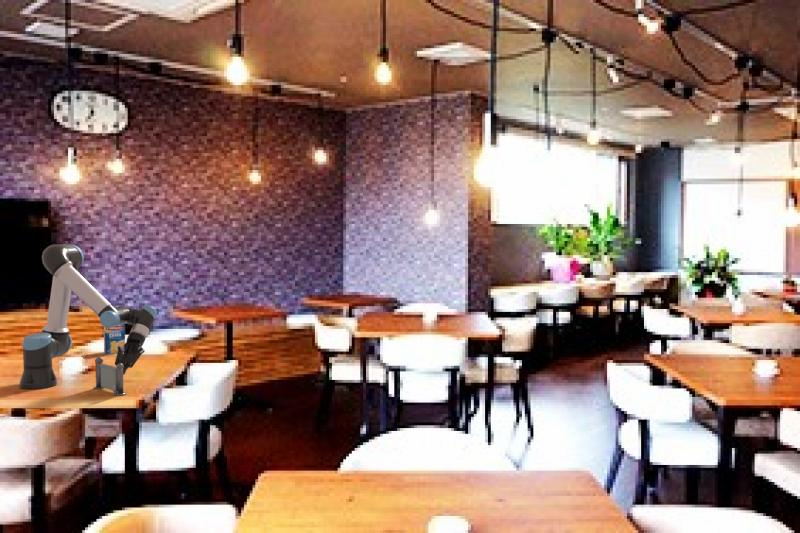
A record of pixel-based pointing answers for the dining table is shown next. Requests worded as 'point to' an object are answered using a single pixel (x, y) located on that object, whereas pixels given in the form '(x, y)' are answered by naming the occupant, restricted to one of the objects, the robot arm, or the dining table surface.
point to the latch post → (119, 381)
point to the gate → (108, 376)
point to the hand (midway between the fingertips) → (116, 380)
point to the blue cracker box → (114, 338)
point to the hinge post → (98, 372)
